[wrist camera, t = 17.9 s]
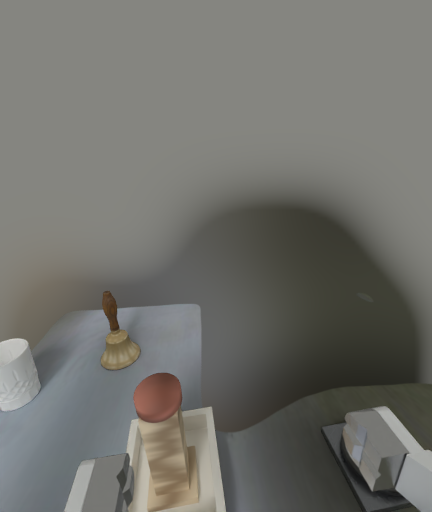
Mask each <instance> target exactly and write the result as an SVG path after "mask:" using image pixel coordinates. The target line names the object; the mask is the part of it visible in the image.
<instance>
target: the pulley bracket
mask: <svg viewBox="0 0 432 512" xmlns="http://www.w3.org/2000/svg"><path fill="white" fill-rule="evenodd" d="M346 424H347V422H346V423H341V424H335V425H330V426H324V427H322V429H321V432H322V434H323V436H324V438H325V440H326V442H327V444H328V445H329V447H330V449H331V451H332V453H333V455H334V457H335V459H336V461H337V463H338V465H339V467H340V468H341V470H342V472H343V474H344V476H345V478H346V480H347V482H348V484H349V486H350V488H351V489H352V491H353V493H354V495H355V497H356V499H357V501H358V503H359V505H360V507H361V509H362V511H363V512H390V511H394V510H398V509H403V508H407V507H411V506H414V505H413V504H412V503H411V502H409V501H408V500H407V499H406V498H405V497H404V496H403V495H401V494H400V493H399V492H398V491H397V490H396V489H395V488H396V487H395V488H389V489H384V490H378V491H373V492H372V490H371V489H370V487H369V485H368V483H367V482H366V480H365V478H364V477H363V475H362V473H361V472H360V468H359V461H357V460H356V459H355V458H353V457H352V456H351V454H350V453H349V451H348V449H347V447H346V444H345V442H344V438H343V427H344V426H345V425H346Z"/></svg>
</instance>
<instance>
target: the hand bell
mask: <svg viewBox="0 0 432 512" xmlns="http://www.w3.org/2000/svg"><path fill="white" fill-rule="evenodd" d="M102 305H103V310H104V313H105V315H106V316H107V318H108V319H109V323H110V329H111V333H109V334H108V335H107V337H106V350H105V352H104V353H103V355H102V357H101V365H102V366H103V367H104V368H106V369H109V370H118V369H122V368H125V367H127V366H129V365H131V364H132V363H133V362H135V361H136V360H137V359H138V357H139V355H140V347H139V346H138V345H137V344H136V343H134V342H132V341H131V340H130V338H129V336H128V333H127V332H126V331H125V330H120V329H119V325H118V321H117V305H116V301H115V299H114V298H113V296H112V295H111V293H110V291H105V292H104V293H103V301H102Z"/></svg>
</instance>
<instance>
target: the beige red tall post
mask: <svg viewBox="0 0 432 512" xmlns="http://www.w3.org/2000/svg"><path fill="white" fill-rule="evenodd" d="M133 398H134V404H135V408H136V412H137V415H138V416H139V420H138V423H139V427H140V431H141V435H142V439H143V443H144V447H145V452H146V456H147V460H148V464H149V468H150V478H149V490H148V501H147V511H148V512H156V511H160V510H165V509H170V508H175V507H180V506H185V505H190V504H194V503H199V498H198V481H197V465H196V449H195V446H189V447H187V443H186V437H185V430H184V423H183V416H182V410H181V402H182V392H181V385H180V382H179V380H178V379H177V378H176V377H175V376H174V375H172V374H169V373H157V374H153V375H151V376H149V377H147V378H145V379H144V380H143V381H142V382H141V383H140V384H139V385H138V386H137V388H136V390H135V392H134V397H133Z"/></svg>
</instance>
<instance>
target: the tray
mask: <svg viewBox="0 0 432 512" xmlns="http://www.w3.org/2000/svg"><path fill="white" fill-rule="evenodd" d="M182 416H183V423H184V430H185V437H186V443H187V447H189V446H195V449H196V465H197V481H198V498H199V503H194V504H190V505H185V506H180V507H175V508H170V509H165V510H160V511H156V512H226V507H225V500H224V493H223V485H222V478H221V471H220V464H219V456H218V449H217V442H216V434H215V427H214V420H213V413H212V407H206V408H200V409H194V410H188V411H182ZM138 420H139V419H134V420H131V426H130V432H129V438H128V443H127V449H126V453H128V454H129V457H130V463H129V465H130V466H132V467H133V471H134V494H133V500H132V502H131V503H130V505H129V507H128V511H129V512H148V511H147V501H148V490H149V478H150V468H149V464H148V460H147V456H146V452H145V447H144V443H143V439H142V435H141V431H140V427H139V423H138Z"/></svg>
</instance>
